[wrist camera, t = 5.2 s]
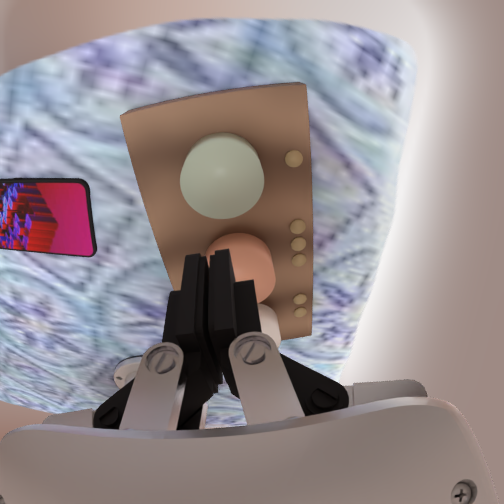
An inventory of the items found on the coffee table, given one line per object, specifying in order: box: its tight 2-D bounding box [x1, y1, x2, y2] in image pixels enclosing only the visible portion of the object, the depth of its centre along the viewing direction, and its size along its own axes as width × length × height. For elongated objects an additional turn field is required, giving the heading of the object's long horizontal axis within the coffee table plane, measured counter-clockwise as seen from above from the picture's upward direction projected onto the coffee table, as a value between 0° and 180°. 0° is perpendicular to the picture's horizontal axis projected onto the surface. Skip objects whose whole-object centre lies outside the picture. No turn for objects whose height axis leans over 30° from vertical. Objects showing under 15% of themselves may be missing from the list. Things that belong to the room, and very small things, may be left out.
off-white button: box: [258, 303, 281, 348], centre depth 26 cm, size 5×5×2 cm
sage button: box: [180, 132, 264, 219], centre depth 19 cm, size 5×5×2 cm
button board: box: [120, 82, 313, 340], centre depth 25 cm, size 24×12×2 cm, turn 7°
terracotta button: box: [205, 233, 276, 304], centre depth 22 cm, size 5×5×2 cm
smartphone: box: [0, 178, 97, 257], centre depth 22 cm, size 8×1×15 cm
